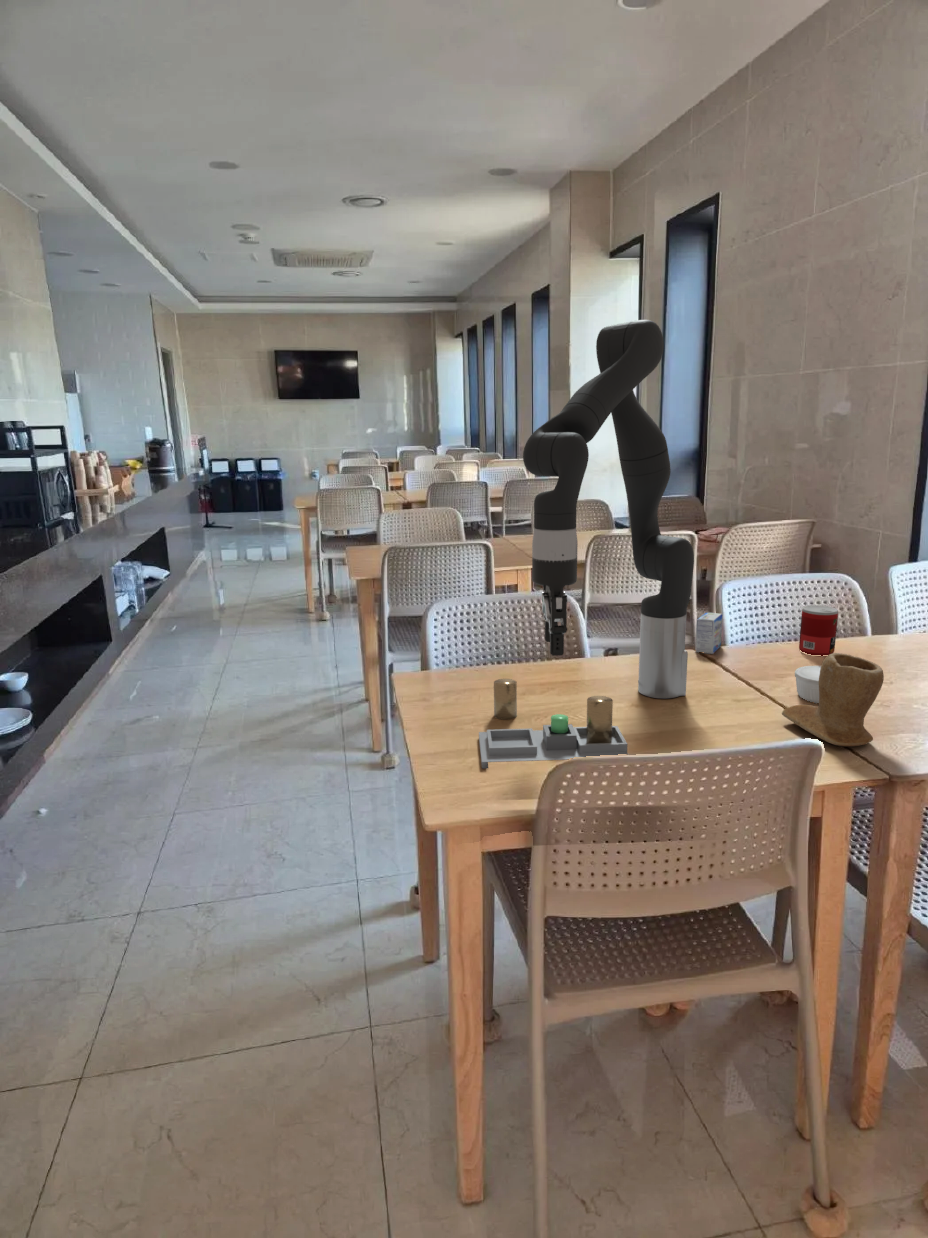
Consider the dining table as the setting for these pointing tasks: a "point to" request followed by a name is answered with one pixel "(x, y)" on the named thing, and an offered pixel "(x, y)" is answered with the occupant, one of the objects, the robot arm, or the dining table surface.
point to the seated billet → (599, 720)
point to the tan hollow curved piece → (841, 701)
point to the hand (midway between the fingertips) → (553, 648)
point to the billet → (505, 699)
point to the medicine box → (708, 633)
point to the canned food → (818, 630)
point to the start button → (559, 723)
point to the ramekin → (808, 682)
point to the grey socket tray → (544, 744)
